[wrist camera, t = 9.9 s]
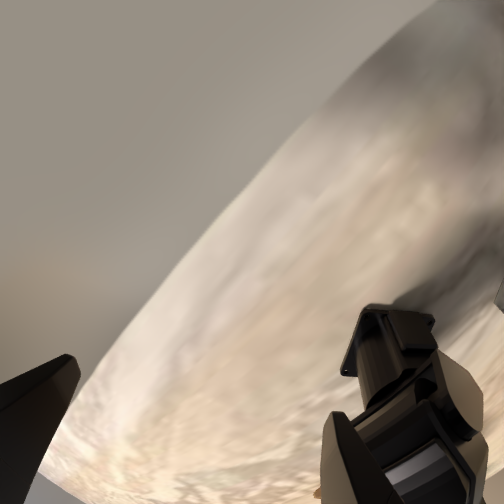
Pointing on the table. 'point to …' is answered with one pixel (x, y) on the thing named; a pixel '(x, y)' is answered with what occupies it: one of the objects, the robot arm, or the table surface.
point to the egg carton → (500, 298)
